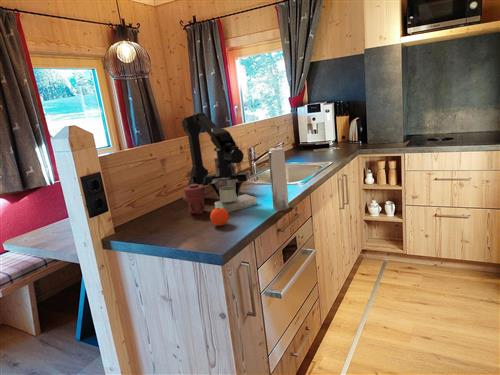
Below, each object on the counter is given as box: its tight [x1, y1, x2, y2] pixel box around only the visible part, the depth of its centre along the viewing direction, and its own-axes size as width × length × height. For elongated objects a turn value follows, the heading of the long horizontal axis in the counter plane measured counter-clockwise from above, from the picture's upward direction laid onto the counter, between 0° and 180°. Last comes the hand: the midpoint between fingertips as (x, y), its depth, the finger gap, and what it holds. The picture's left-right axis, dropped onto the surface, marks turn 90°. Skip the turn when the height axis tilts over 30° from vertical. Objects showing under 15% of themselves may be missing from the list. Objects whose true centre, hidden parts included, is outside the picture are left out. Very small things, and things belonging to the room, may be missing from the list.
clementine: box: [209, 207, 230, 227], centre depth 136 cm, size 8×7×7 cm
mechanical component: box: [182, 184, 208, 215], centre depth 154 cm, size 12×10×10 cm
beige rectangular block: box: [214, 193, 258, 213], centre depth 157 cm, size 9×16×6 cm, turn 123°
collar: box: [218, 186, 238, 202], centre depth 155 cm, size 8×8×5 cm
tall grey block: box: [267, 147, 290, 212], centre depth 146 cm, size 6×6×25 cm
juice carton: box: [213, 154, 237, 188], centre depth 181 cm, size 7×7×22 cm
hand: (228, 197), depth 155 cm, fingers closed on collar, 8 cm apart
